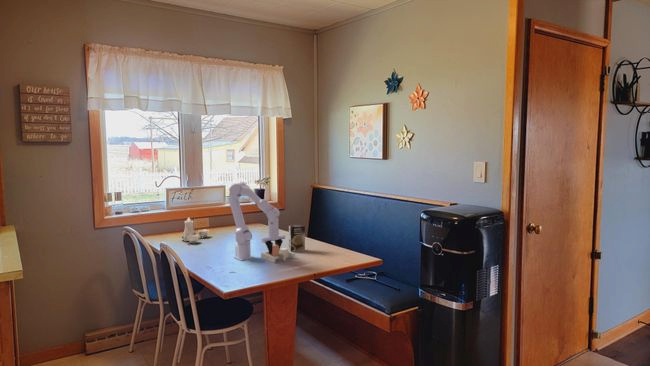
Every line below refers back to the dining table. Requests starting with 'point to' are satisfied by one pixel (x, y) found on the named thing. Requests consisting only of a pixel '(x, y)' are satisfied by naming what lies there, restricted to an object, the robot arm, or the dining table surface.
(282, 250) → the cream block
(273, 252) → the terracotta block
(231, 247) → the dining table surface
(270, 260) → the slot rack
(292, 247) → the coffee box
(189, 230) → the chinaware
